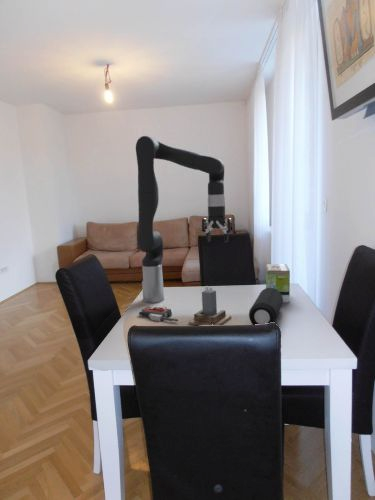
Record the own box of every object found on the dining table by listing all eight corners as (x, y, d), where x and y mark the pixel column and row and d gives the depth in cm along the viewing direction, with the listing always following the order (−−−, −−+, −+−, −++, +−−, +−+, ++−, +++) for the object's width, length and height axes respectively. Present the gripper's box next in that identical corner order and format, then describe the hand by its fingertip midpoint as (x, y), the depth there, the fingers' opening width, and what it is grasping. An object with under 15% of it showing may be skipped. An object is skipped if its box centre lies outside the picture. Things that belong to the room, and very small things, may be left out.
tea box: (290, 302, 156) (290, 270, 153) (267, 302, 158) (266, 270, 155) (287, 293, 170) (286, 263, 168) (265, 293, 172) (265, 263, 170)
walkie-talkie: (135, 318, 147) (176, 324, 137) (134, 308, 146) (176, 314, 137) (147, 311, 155) (187, 317, 145) (147, 301, 154) (187, 307, 144)
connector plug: (203, 319, 138) (201, 287, 136) (208, 316, 141) (206, 285, 139) (211, 320, 136) (210, 288, 134) (217, 317, 139) (215, 286, 137)
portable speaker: (259, 308, 151) (259, 285, 149) (283, 309, 147) (283, 286, 146) (247, 330, 128) (247, 304, 126) (275, 333, 124) (275, 305, 122)
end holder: (188, 324, 137) (188, 315, 136) (205, 313, 147) (204, 305, 147) (215, 329, 130) (215, 320, 129) (231, 317, 141) (231, 309, 140)
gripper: (198, 205, 156) (199, 242, 158) (227, 205, 148) (228, 243, 151) (206, 205, 162) (207, 240, 165) (234, 204, 154) (235, 241, 157)
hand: (217, 241), depth 158 cm, fingers open, 8 cm apart
